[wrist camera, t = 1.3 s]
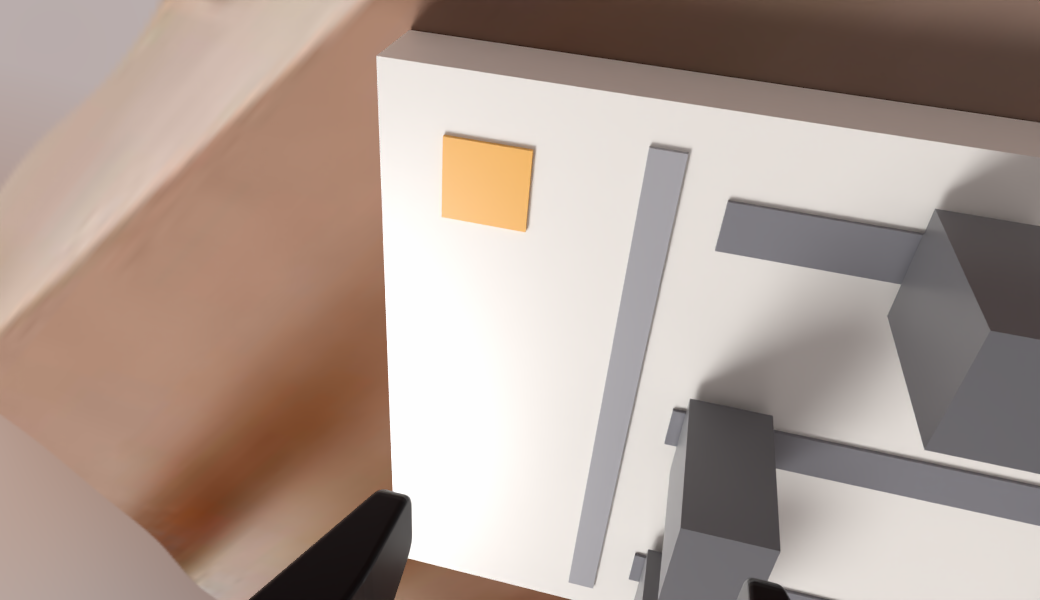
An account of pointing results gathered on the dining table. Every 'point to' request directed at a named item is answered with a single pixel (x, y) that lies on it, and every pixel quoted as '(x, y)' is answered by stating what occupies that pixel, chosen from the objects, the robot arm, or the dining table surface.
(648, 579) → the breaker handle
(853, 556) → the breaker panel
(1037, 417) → the block
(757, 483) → the handle
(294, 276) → the dining table surface
